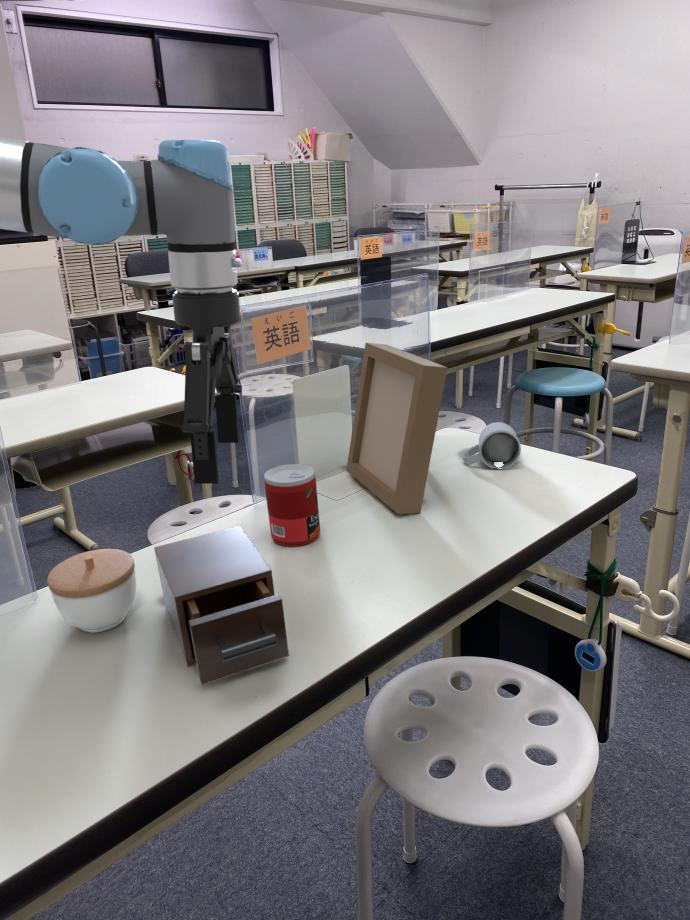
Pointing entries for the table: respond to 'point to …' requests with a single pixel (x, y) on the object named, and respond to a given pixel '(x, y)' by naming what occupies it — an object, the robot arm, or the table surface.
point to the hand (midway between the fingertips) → (218, 461)
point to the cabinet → (206, 573)
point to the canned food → (292, 504)
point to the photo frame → (395, 425)
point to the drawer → (235, 630)
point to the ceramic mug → (495, 446)
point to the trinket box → (94, 588)
